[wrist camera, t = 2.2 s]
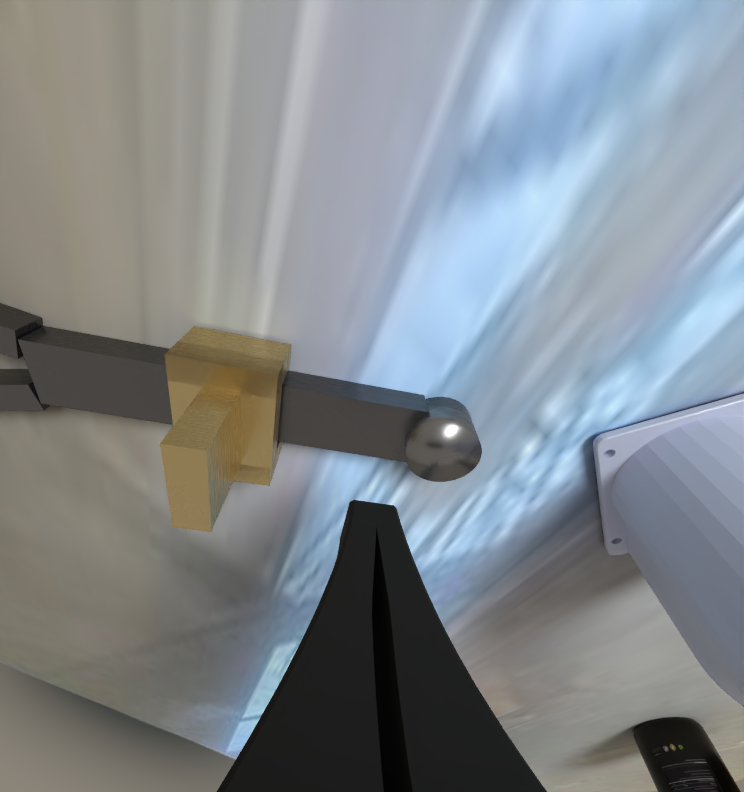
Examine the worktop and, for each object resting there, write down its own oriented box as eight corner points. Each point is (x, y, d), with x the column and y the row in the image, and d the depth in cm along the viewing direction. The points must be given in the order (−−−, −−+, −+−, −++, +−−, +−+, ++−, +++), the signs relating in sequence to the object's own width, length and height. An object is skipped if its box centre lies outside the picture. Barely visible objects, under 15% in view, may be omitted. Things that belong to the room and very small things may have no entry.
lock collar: (291, 344, 14) (251, 432, 9) (281, 448, 17) (248, 552, 12) (194, 326, 13) (105, 409, 9) (201, 435, 16) (137, 538, 12)
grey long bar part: (510, 338, 14) (529, 364, 12) (437, 497, 19) (443, 530, 17) (-430, 145, 11) (-580, 143, 9) (-218, 398, 16) (-288, 427, 14)
